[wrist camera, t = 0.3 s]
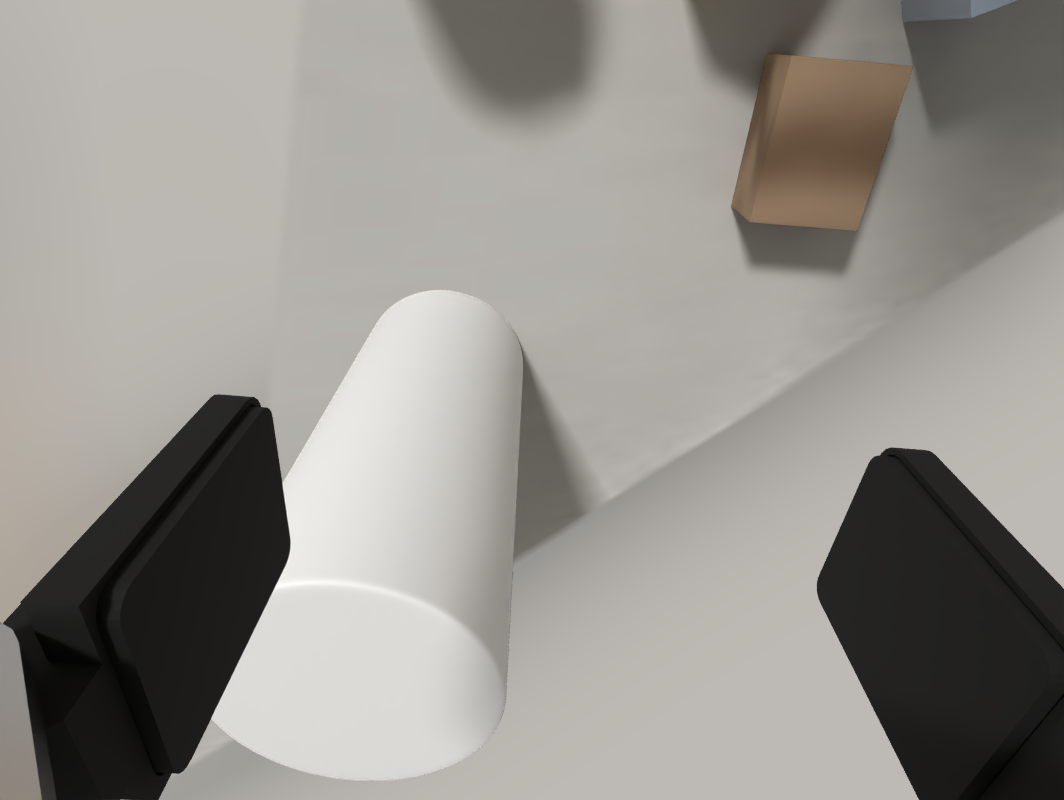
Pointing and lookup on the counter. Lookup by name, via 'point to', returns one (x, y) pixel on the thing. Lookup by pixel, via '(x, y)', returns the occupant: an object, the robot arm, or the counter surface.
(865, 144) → the walnut block
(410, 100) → the counter surface
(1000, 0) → the slate brick
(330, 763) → the tall pillar cylinder
